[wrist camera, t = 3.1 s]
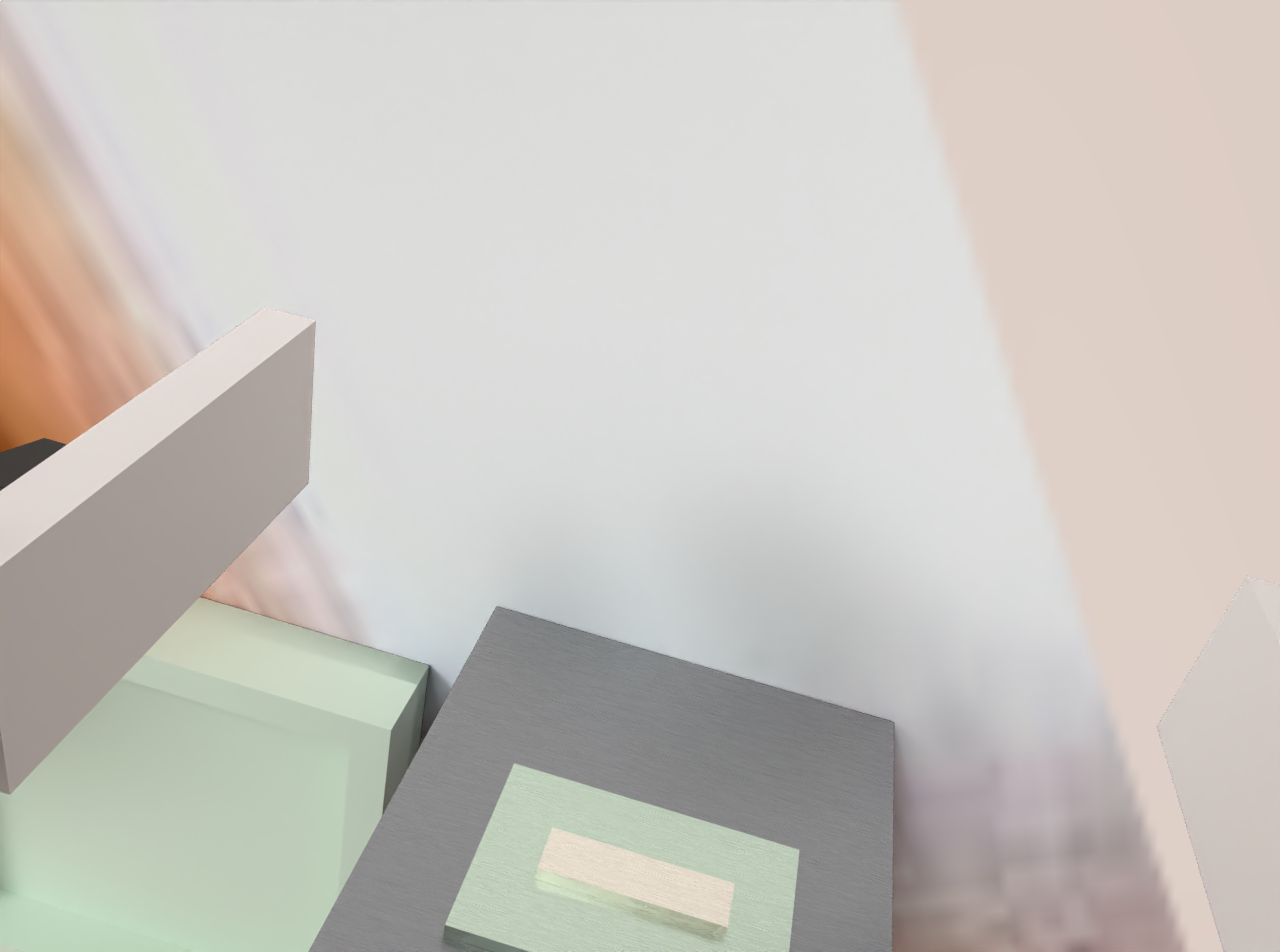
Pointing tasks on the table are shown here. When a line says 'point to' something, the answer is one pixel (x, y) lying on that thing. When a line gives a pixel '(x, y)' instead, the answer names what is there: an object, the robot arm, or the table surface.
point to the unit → (626, 812)
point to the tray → (210, 793)
